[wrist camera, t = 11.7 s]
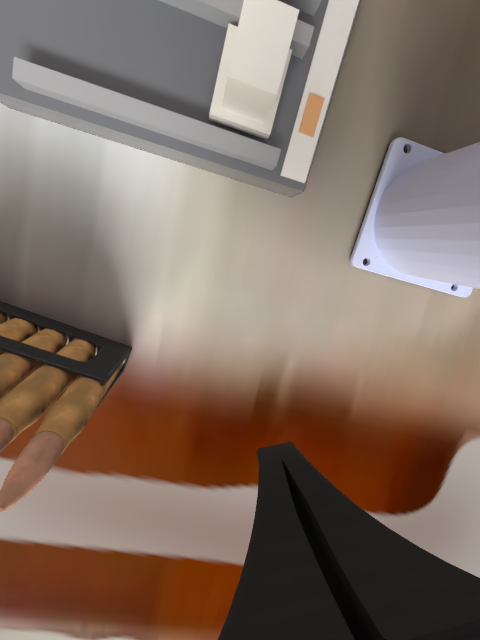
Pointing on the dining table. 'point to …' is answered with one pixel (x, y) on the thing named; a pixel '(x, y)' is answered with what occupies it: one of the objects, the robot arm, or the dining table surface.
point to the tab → (254, 67)
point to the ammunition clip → (48, 389)
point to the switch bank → (170, 79)
